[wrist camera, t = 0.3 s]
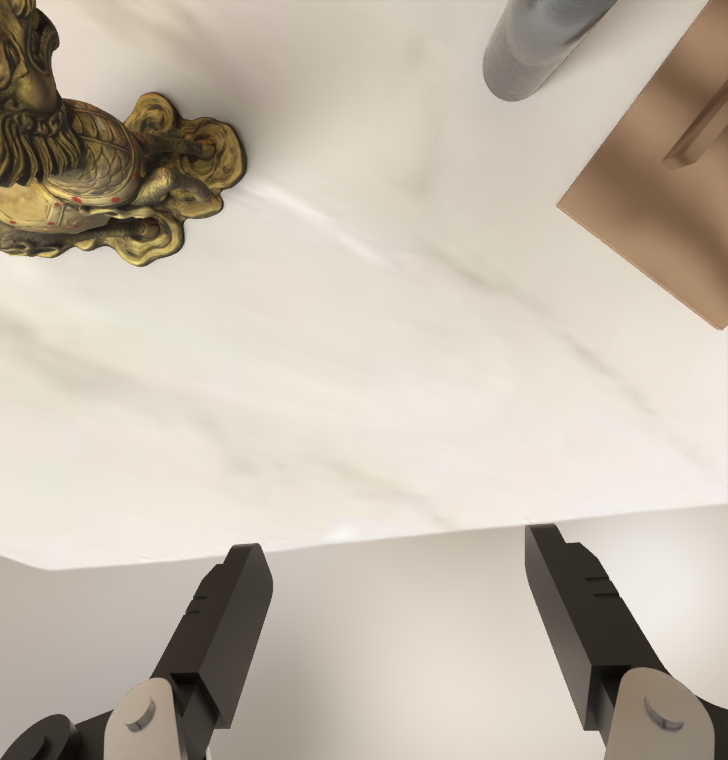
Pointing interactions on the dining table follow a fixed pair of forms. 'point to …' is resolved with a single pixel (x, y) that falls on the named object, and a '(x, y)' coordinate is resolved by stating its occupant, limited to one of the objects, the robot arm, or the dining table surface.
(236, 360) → the dining table surface
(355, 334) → the dining table surface
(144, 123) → the figurine
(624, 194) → the walnut bracket
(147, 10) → the dining table surface
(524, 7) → the graphite canister
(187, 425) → the dining table surface
